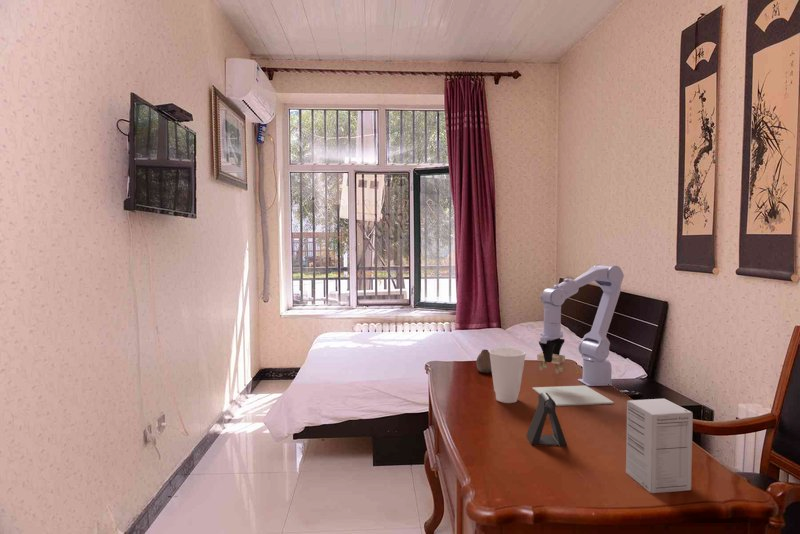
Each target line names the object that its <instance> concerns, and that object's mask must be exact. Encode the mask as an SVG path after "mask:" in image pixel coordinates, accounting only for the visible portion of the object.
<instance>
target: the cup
mask: <svg viewBox="0 0 800 534" xmlns="http://www.w3.org/2000/svg"><path fill="white" fill-rule="evenodd" d="M488 351H489V353H490V361H491V369H492V371H491V375H492V382H493V391H494V392H495V400H496V401H498V402H500V403H504V404H512V403H513V404H514V403H517V402H518V398H519V394H520V391H521V385H522V379H523V372H524V366H525V359H526V355H527V352H526V351H524V350H521V349H518V348H511V347H497V348H491V349H489V350H488Z"/></svg>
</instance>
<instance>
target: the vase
mask: <svg viewBox="0 0 800 534" xmlns="http://www.w3.org/2000/svg"><path fill="white" fill-rule="evenodd" d="M489 351H490V350H489V349H482V350H481V351H480V353H479V354H478V356H477V358H476V363H475V364H476V368H477V370H478V371H479V372H480V373H485V374H487V373H488V374H489V373H492V369H491V361H490V353H489Z"/></svg>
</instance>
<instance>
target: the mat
mask: <svg viewBox="0 0 800 534" xmlns="http://www.w3.org/2000/svg"><path fill="white" fill-rule="evenodd" d="M531 389H532V390H534V392H536V393H537V394H538V395H539V394H540V393H543V394H544V395H545V396H546V398H547V399H549V397H548V396H547V395H546V393H548V394H549V396H550V397H551V398H552V399H553V400H554V402H555V403H556V407H566V406H588V405H593V406H594V405H614V404H615V402H614V401H612V399H609V398H608V397H606V396H604V395H602V394H601V393H599V392H597V391H596V390H594V389H593V388H591V387H590V386H587V385H585V384H584V385H563V386H560V385H558V386H535V387H532V388H531Z"/></svg>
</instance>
